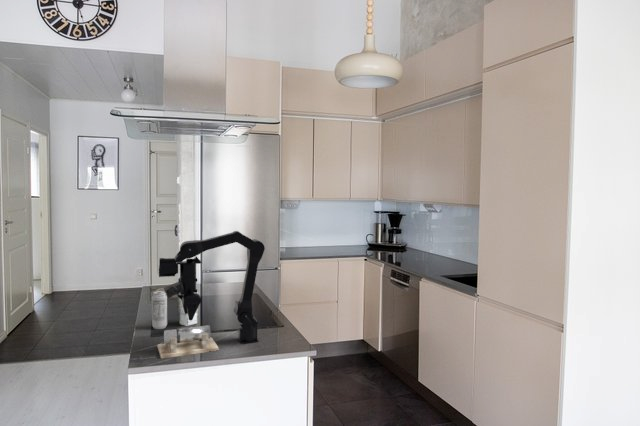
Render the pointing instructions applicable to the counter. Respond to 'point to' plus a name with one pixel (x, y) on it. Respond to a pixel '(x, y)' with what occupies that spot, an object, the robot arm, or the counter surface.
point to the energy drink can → (159, 310)
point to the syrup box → (184, 317)
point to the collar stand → (187, 347)
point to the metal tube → (186, 334)
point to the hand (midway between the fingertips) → (188, 316)
